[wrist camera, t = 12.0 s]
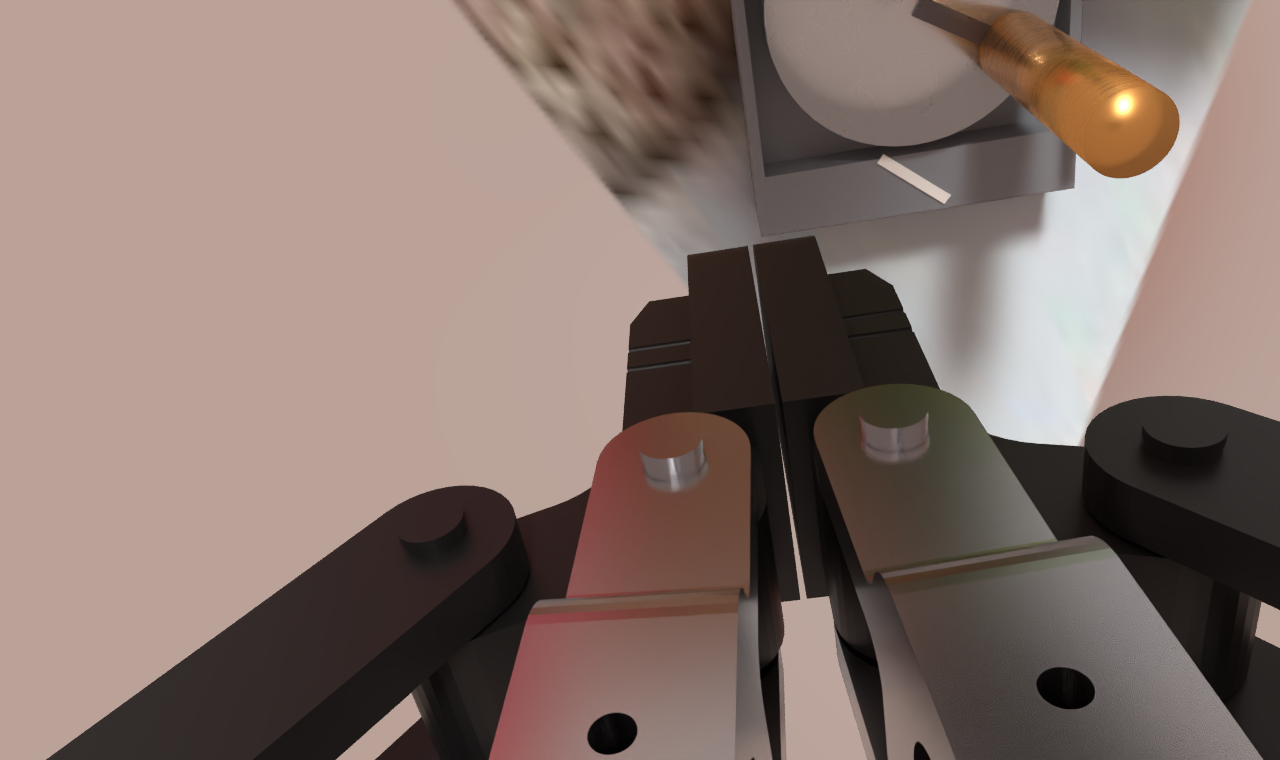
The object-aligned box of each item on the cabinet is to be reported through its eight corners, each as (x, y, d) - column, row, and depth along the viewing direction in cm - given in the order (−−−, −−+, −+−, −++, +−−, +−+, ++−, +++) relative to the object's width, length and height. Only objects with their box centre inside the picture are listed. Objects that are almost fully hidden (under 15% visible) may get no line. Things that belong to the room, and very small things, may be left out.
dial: (716, 72, 37) (735, 183, 27) (838, -218, 32) (920, -223, 22) (955, 169, 39) (1061, 309, 28) (1105, -92, 34) (1300, -42, 23)
